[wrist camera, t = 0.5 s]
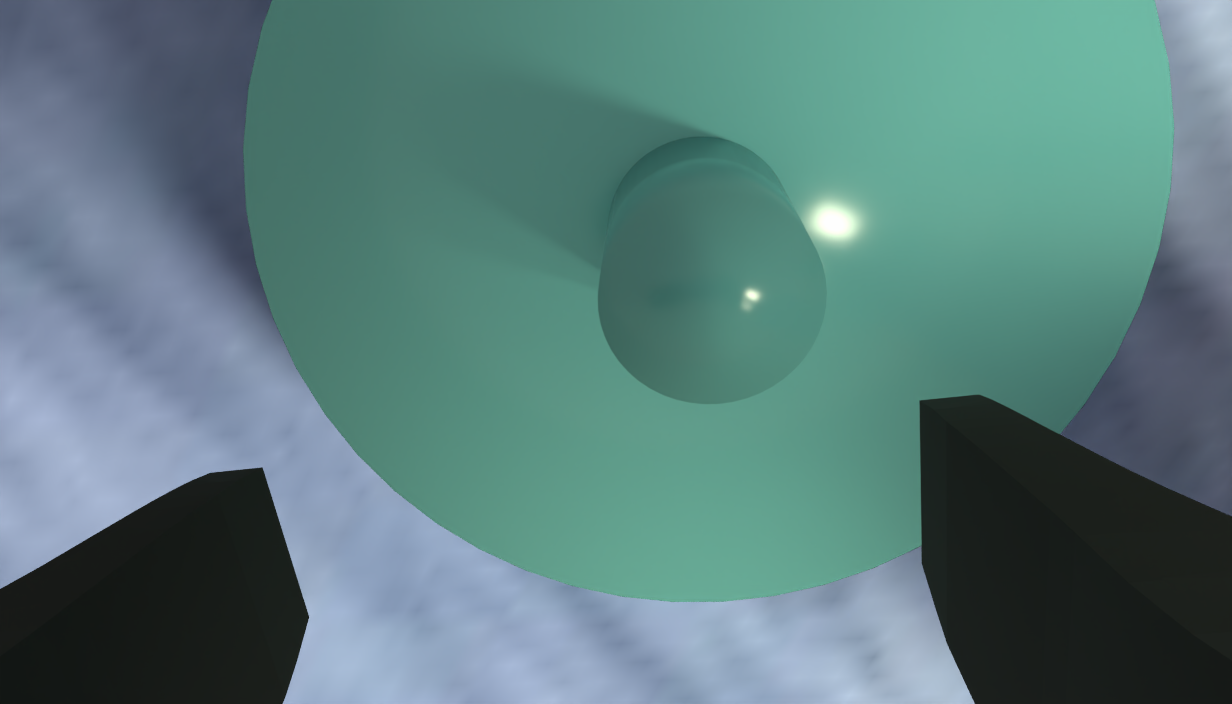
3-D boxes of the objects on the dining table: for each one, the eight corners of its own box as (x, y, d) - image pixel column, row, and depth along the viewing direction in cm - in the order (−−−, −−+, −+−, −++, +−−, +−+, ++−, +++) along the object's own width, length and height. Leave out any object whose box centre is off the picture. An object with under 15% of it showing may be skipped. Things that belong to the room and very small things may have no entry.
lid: (1267, -281, 14) (1516, -369, 10) (1044, 595, 20) (1144, 762, 16) (208, -319, 14) (33, -418, 10) (303, 559, 20) (215, 713, 16)
